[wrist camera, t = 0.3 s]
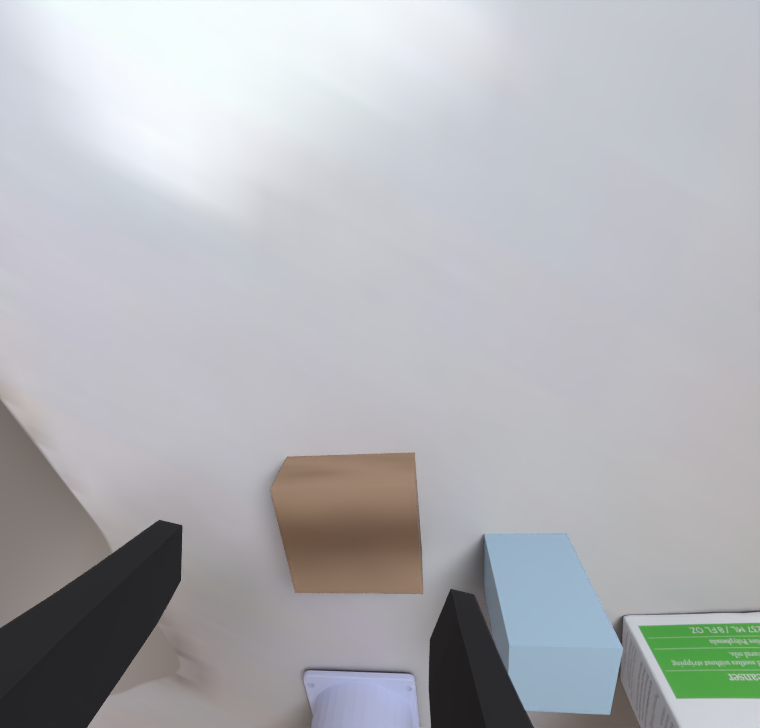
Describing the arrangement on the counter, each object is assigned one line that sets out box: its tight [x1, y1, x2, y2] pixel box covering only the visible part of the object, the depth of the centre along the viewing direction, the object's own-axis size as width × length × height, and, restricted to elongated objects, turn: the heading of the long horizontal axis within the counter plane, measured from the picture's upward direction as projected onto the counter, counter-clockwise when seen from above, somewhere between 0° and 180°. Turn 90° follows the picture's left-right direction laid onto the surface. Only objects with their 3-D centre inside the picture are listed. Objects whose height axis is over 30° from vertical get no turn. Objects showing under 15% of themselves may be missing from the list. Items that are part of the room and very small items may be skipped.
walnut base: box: [270, 453, 423, 594], centre depth 20 cm, size 7×7×3 cm
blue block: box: [484, 533, 623, 715], centre depth 19 cm, size 4×4×6 cm
